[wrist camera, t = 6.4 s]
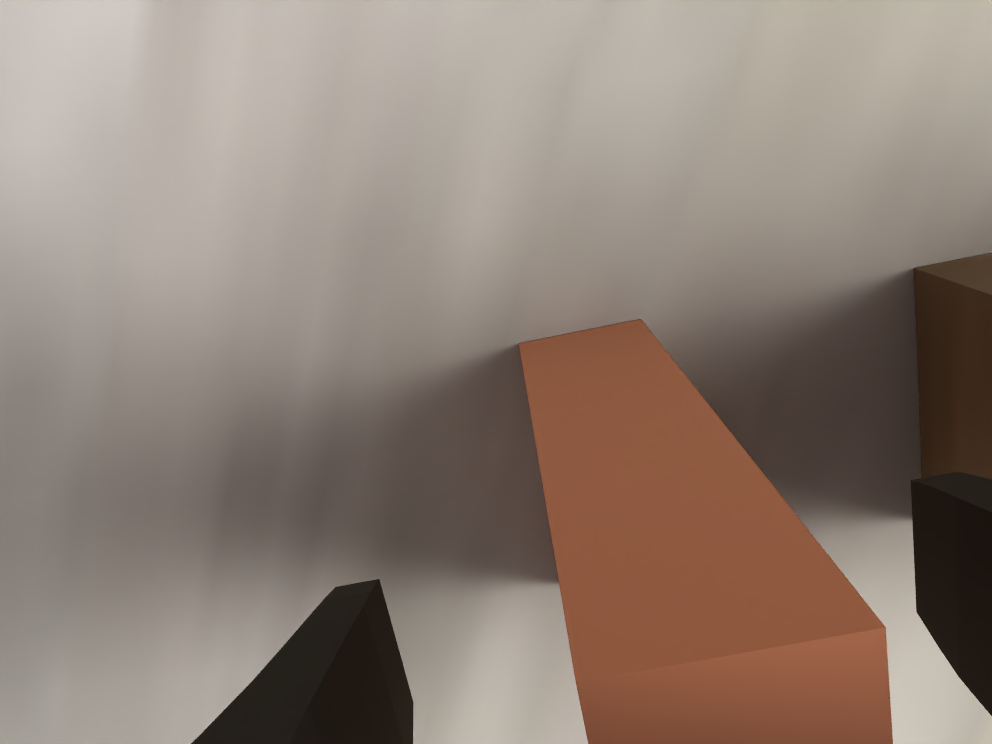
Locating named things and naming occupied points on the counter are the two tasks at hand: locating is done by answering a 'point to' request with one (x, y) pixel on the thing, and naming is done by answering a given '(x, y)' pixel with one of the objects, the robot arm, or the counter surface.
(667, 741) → the domino
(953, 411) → the domino
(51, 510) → the counter surface
